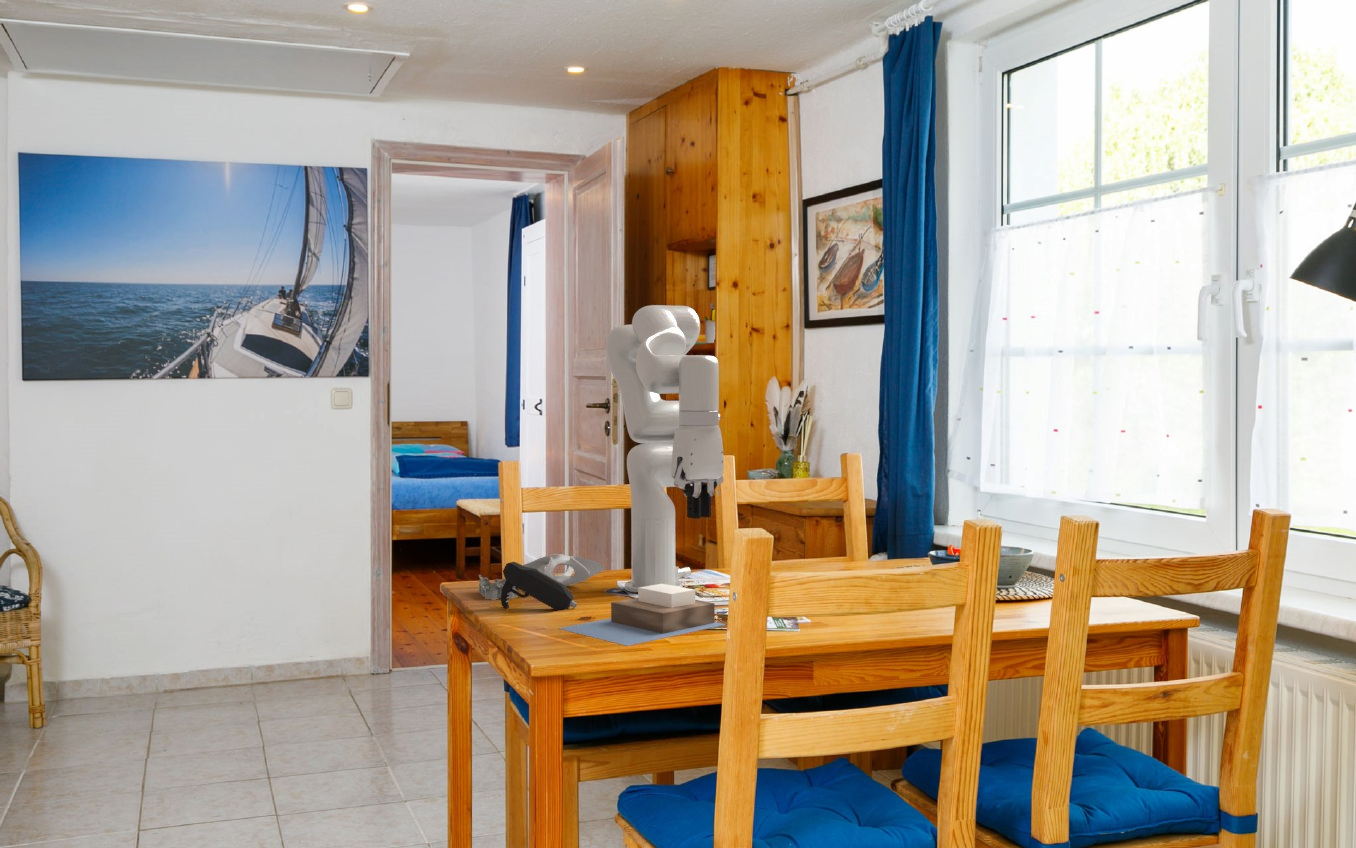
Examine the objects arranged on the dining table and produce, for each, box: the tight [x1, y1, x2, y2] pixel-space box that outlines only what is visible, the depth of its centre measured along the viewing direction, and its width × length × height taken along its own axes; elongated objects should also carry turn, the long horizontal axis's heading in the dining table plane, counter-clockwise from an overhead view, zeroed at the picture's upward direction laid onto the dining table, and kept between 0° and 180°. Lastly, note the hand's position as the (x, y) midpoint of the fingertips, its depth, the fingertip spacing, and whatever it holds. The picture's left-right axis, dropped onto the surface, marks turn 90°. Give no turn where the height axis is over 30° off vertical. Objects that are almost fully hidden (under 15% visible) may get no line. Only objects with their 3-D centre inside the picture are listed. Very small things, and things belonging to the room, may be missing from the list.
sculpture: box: [522, 553, 605, 587], centre depth 249 cm, size 18×20×6 cm
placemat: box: [557, 617, 727, 647], centre depth 202 cm, size 24×19×1 cm
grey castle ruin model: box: [478, 574, 519, 601], centre depth 235 cm, size 11×8×4 cm
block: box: [610, 597, 716, 634], centre depth 206 cm, size 13×14×4 cm
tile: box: [637, 584, 696, 608], centre depth 206 cm, size 6×9×2 cm, turn 44°
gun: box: [500, 561, 578, 612], centre depth 220 cm, size 3×16×10 cm, turn 79°
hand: (699, 516), depth 212 cm, fingers closed
